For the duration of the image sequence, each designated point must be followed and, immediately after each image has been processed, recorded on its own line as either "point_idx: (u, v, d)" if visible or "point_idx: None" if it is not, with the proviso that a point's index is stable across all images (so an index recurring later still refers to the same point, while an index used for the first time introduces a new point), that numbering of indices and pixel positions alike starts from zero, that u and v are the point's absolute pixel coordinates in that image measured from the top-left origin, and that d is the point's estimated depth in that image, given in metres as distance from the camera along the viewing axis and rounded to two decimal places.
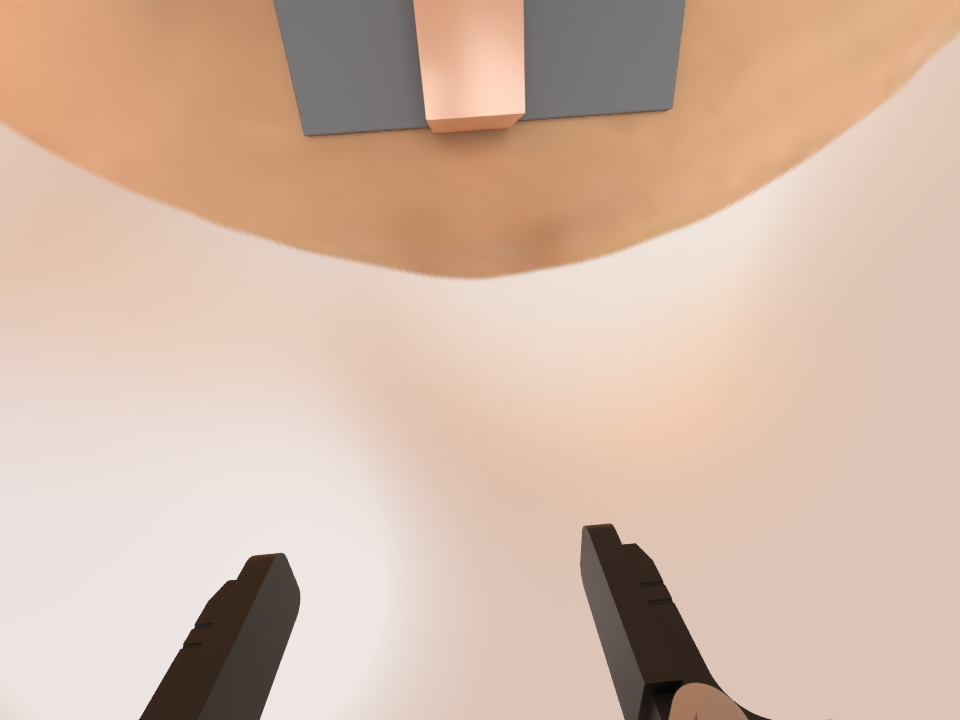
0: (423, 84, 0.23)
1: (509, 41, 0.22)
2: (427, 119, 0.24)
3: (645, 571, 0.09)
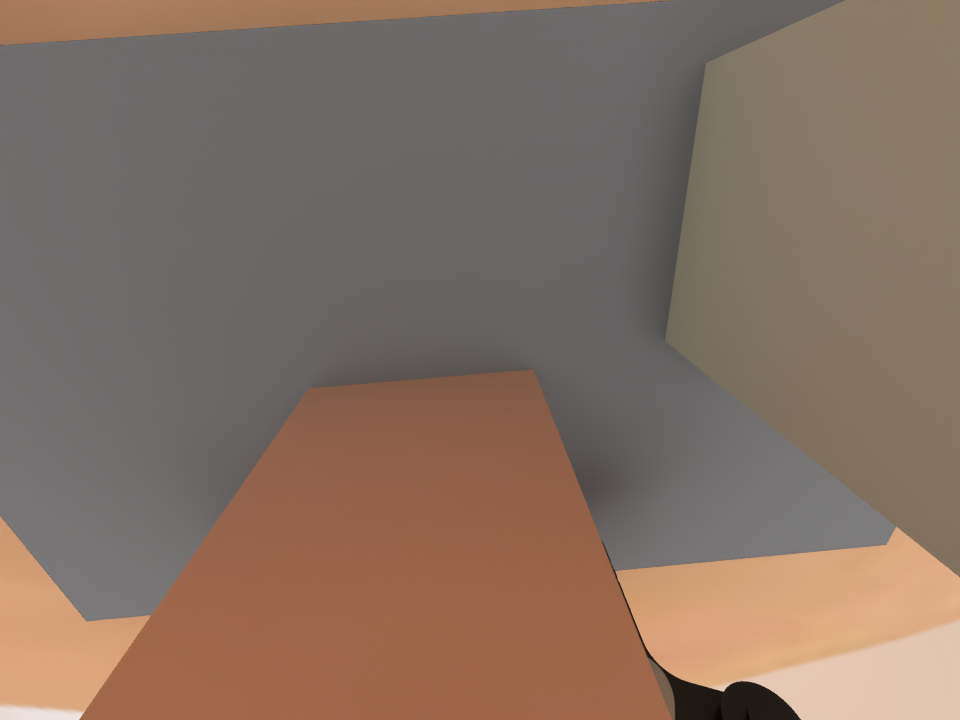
0: None
1: None
2: None
3: None
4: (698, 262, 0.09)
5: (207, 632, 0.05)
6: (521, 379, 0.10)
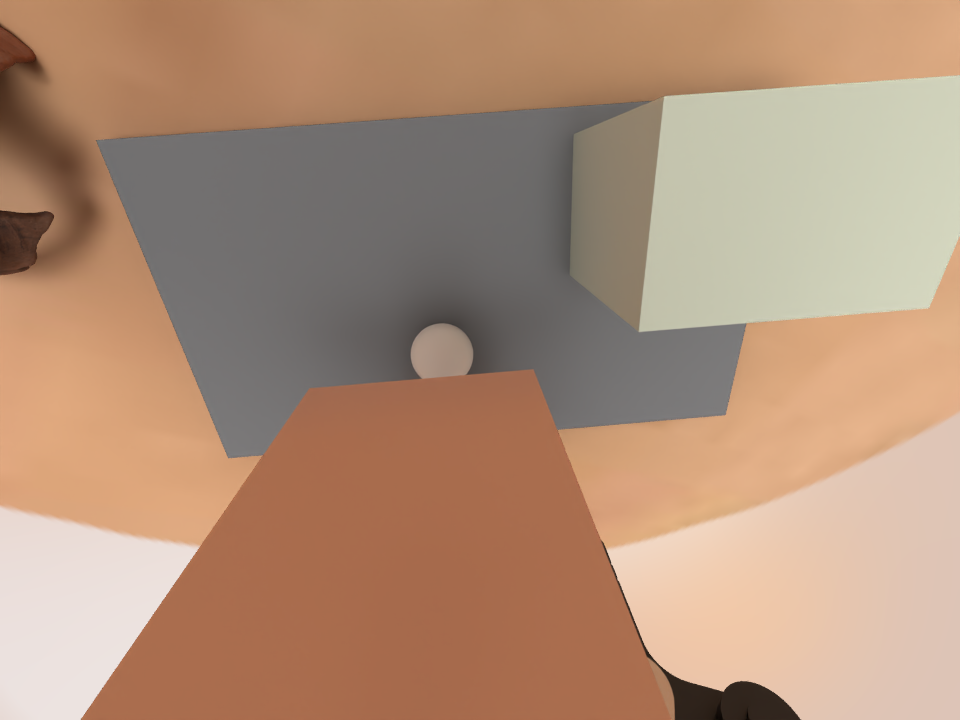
0: None
1: None
2: None
3: None
4: (576, 229, 0.17)
5: (209, 630, 0.05)
6: (520, 379, 0.10)
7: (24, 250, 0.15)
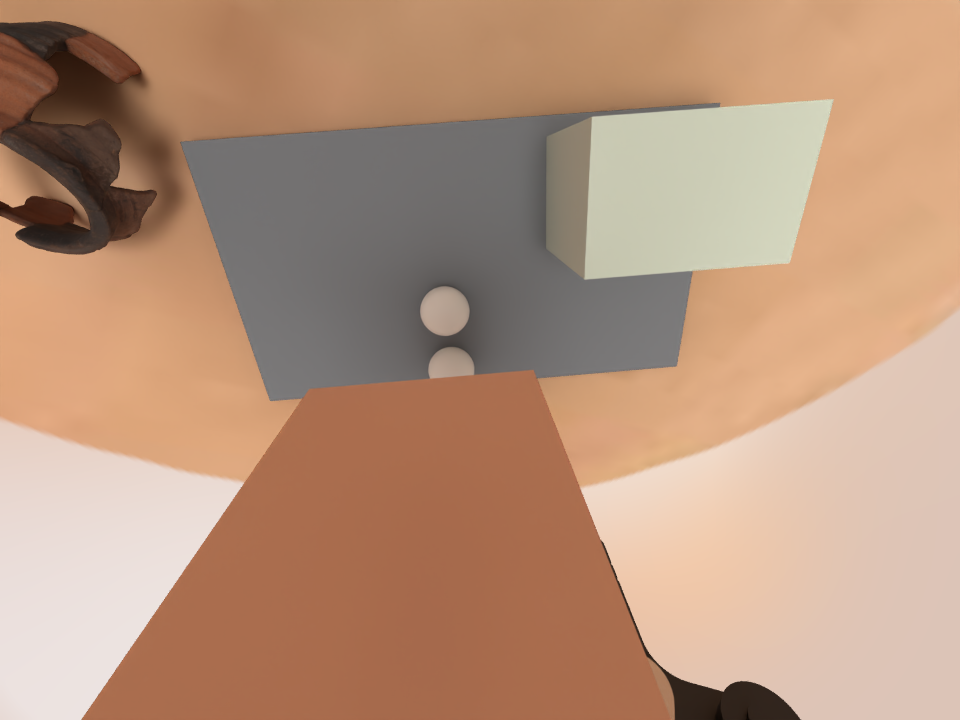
0: None
1: None
2: None
3: None
4: (549, 210, 0.22)
5: (208, 632, 0.05)
6: (521, 380, 0.10)
7: (134, 220, 0.20)
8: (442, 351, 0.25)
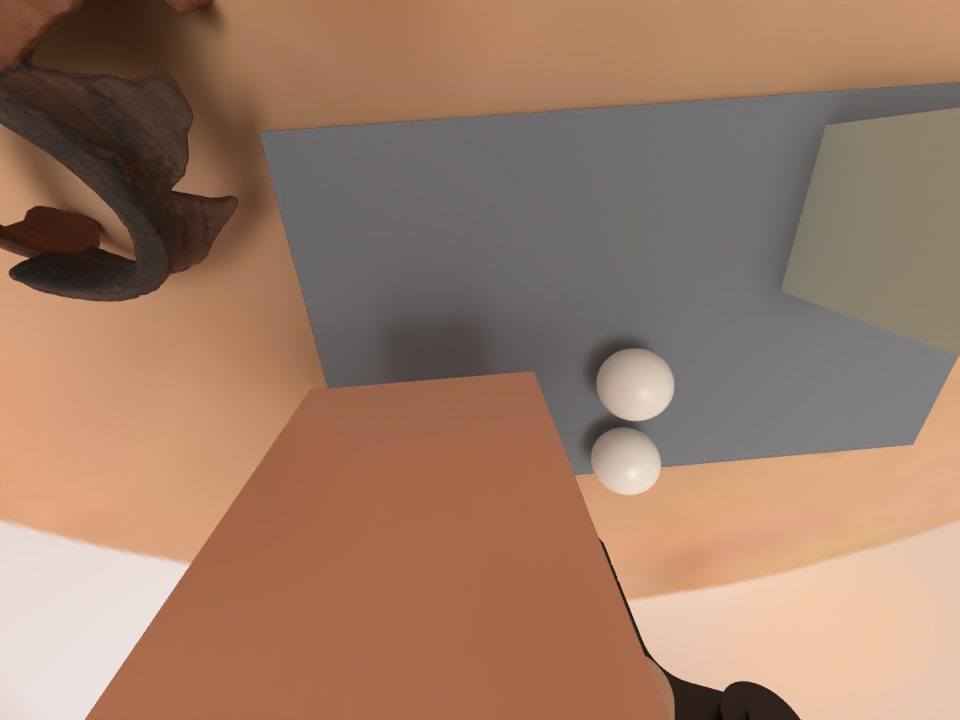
0: None
1: None
2: None
3: None
4: (814, 239, 0.15)
5: (210, 634, 0.05)
6: (521, 381, 0.10)
7: (203, 245, 0.12)
8: (619, 438, 0.17)
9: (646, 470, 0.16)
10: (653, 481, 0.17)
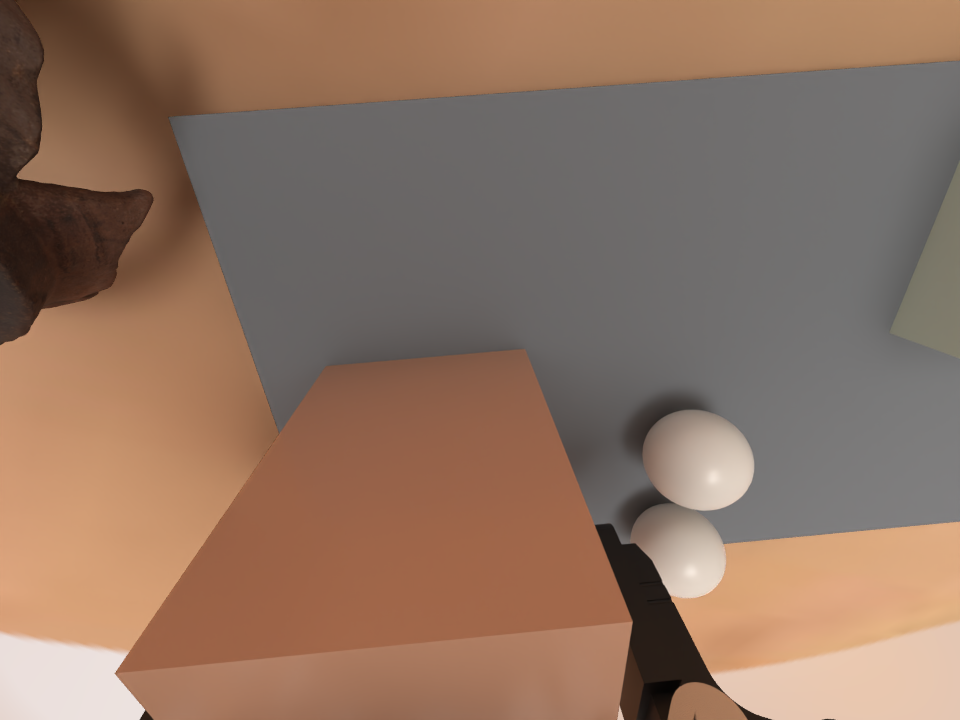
0: None
1: None
2: None
3: (644, 571, 0.09)
4: (954, 267, 0.10)
5: (261, 536, 0.06)
6: (513, 357, 0.11)
7: (100, 264, 0.08)
8: (672, 524, 0.13)
9: (710, 571, 0.12)
10: (718, 583, 0.13)
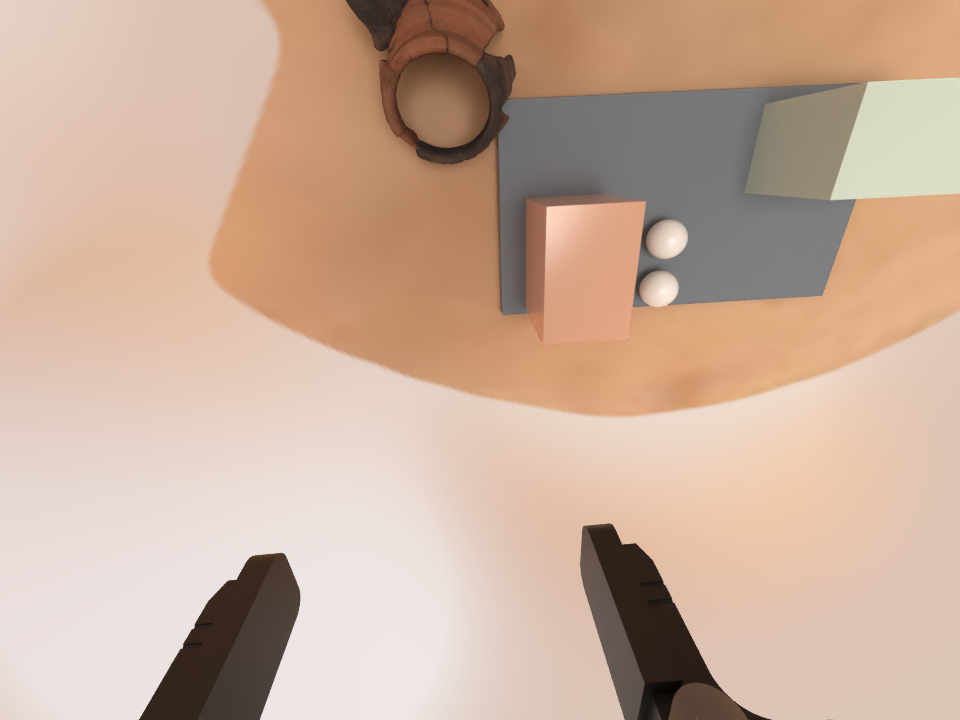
0: (544, 320, 0.26)
1: (622, 291, 0.26)
2: (544, 343, 0.27)
3: (645, 571, 0.09)
4: (759, 161, 0.29)
5: (554, 203, 0.25)
6: (598, 194, 0.30)
7: (492, 137, 0.27)
8: (657, 272, 0.32)
9: (671, 286, 0.31)
10: (674, 294, 0.32)
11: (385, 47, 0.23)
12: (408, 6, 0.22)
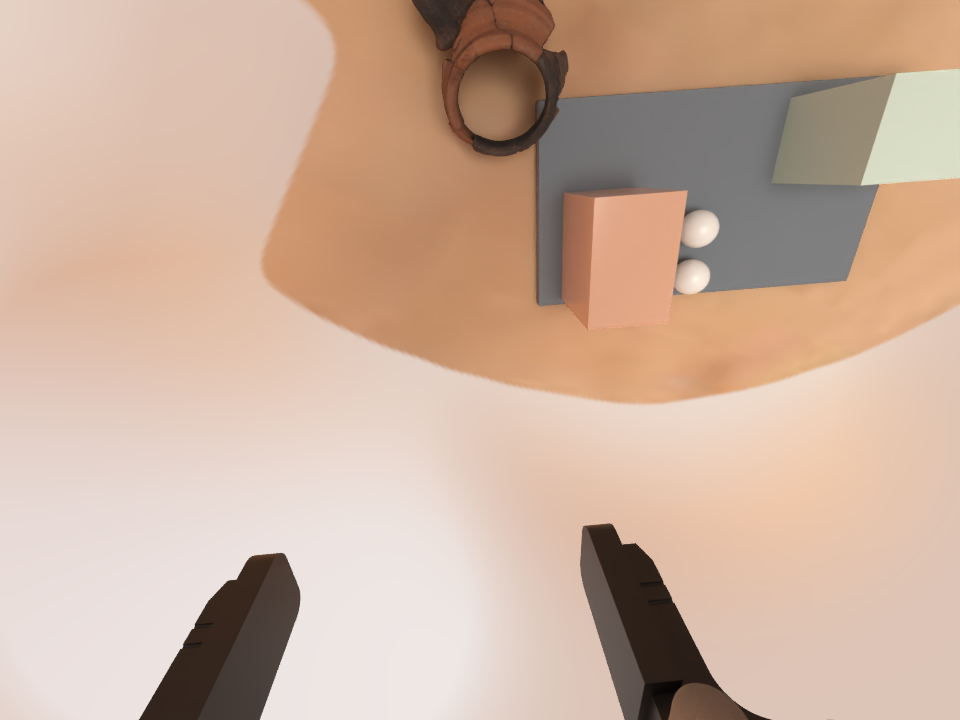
0: (590, 306, 0.28)
1: (663, 276, 0.27)
2: (588, 329, 0.29)
3: (645, 571, 0.09)
4: (786, 152, 0.31)
5: (598, 195, 0.26)
6: (633, 188, 0.32)
7: None
8: (689, 261, 0.33)
9: (704, 273, 0.33)
10: (707, 281, 0.33)
11: (449, 47, 0.24)
12: (473, 8, 0.23)
